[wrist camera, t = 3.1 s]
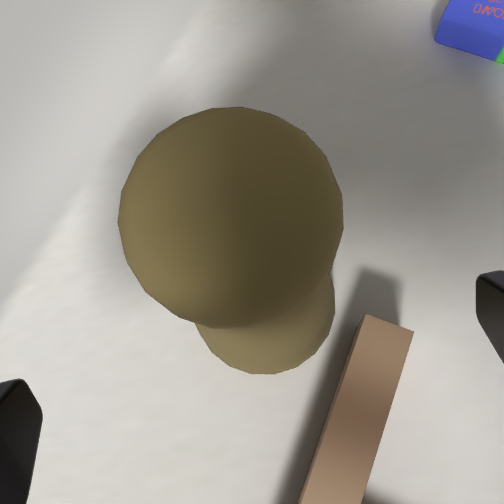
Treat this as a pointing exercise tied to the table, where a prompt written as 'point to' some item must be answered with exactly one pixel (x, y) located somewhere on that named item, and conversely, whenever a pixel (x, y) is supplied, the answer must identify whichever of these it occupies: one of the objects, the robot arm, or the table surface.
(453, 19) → the eraser
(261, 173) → the cork
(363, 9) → the table surface
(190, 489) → the table surface
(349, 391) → the notched board
